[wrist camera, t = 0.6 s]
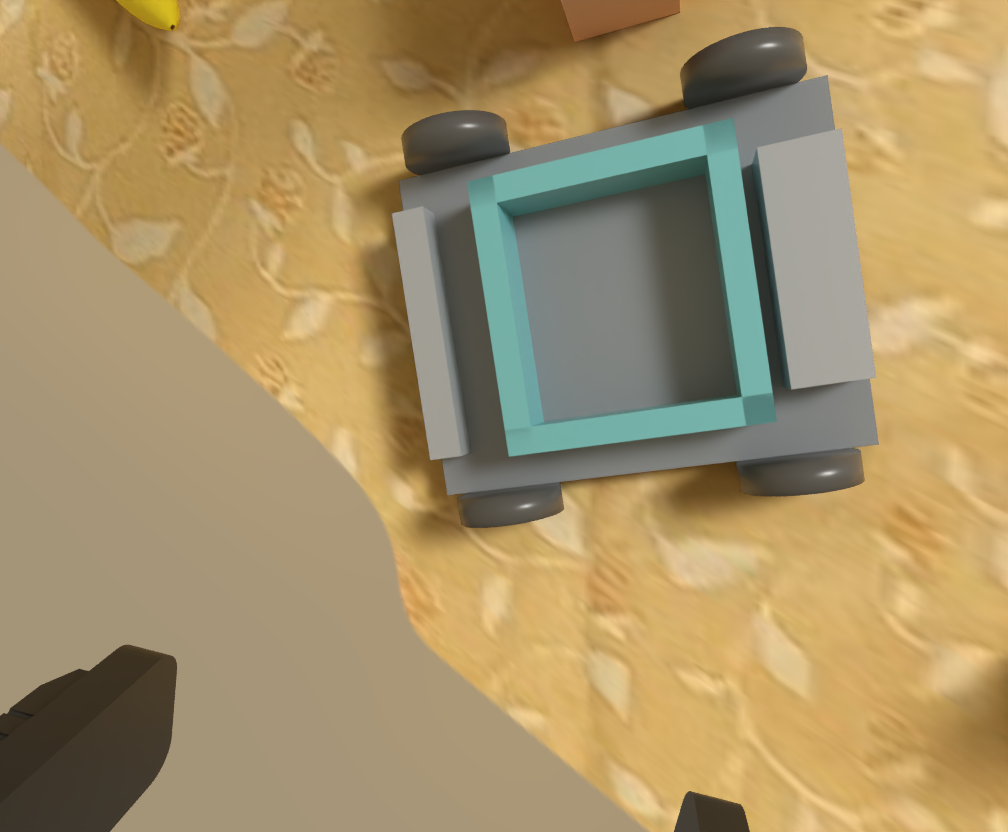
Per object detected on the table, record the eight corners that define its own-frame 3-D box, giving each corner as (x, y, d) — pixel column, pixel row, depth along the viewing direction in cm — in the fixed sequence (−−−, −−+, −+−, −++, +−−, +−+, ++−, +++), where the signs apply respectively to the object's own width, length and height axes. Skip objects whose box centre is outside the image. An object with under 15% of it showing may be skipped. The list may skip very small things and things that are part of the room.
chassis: (406, 165, 37) (363, 134, 32) (817, 61, 31) (840, 5, 27) (460, 512, 37) (426, 534, 32) (873, 467, 32) (907, 484, 27)
